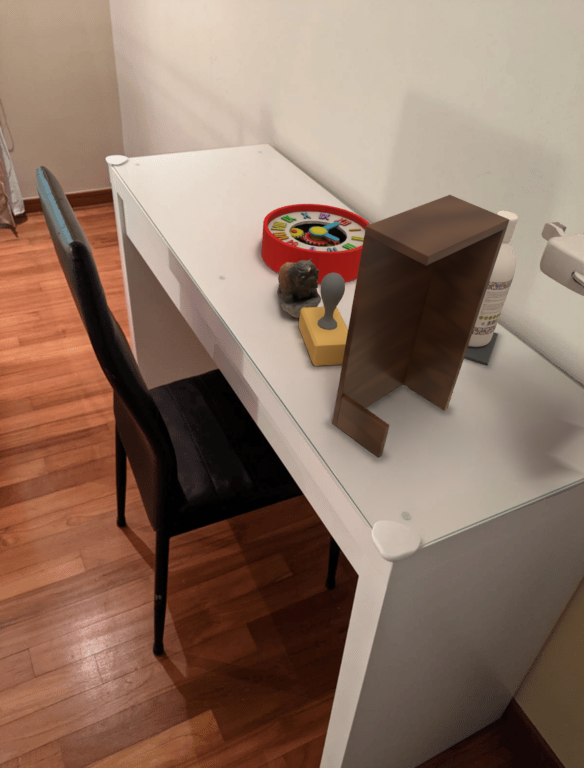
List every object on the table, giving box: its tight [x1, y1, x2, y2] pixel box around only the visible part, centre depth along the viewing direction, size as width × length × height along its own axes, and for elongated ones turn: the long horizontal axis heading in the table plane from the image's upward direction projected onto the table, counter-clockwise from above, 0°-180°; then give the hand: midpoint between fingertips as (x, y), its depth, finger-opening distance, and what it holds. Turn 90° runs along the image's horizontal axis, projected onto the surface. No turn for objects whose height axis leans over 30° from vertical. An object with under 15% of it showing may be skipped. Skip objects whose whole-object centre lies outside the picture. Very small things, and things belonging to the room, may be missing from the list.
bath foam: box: [468, 210, 519, 347], centre depth 89 cm, size 7×7×20 cm
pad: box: [464, 331, 499, 366], centre depth 95 cm, size 9×9×1 cm
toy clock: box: [260, 203, 371, 285], centre depth 111 cm, size 20×6×20 cm
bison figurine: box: [277, 259, 322, 318], centre depth 96 cm, size 12×7×10 cm, turn 8°
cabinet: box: [331, 194, 509, 458], centre depth 71 cm, size 8×15×27 cm, turn 134°
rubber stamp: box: [298, 273, 348, 367], centre depth 87 cm, size 10×6×12 cm, turn 12°
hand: (579, 224), depth 71 cm, fingers open, 8 cm apart
